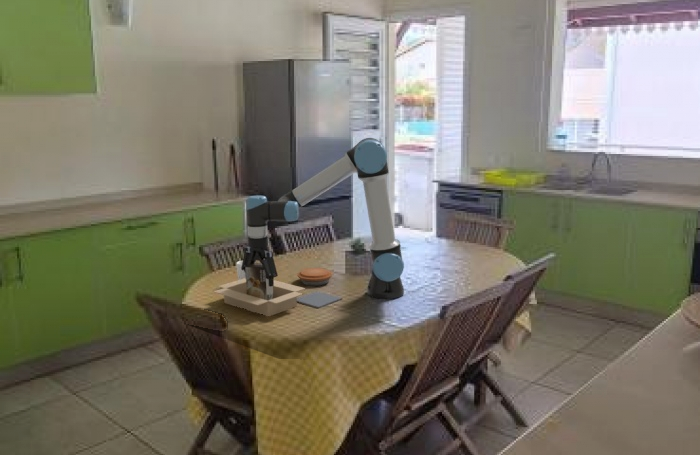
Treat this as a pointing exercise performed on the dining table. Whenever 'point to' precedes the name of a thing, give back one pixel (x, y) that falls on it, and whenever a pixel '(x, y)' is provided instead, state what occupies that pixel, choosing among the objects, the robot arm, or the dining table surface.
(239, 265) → the white cup
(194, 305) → the dining table surface
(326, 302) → the mat
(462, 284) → the dining table surface
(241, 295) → the carton
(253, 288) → the coffee box
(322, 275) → the pie
